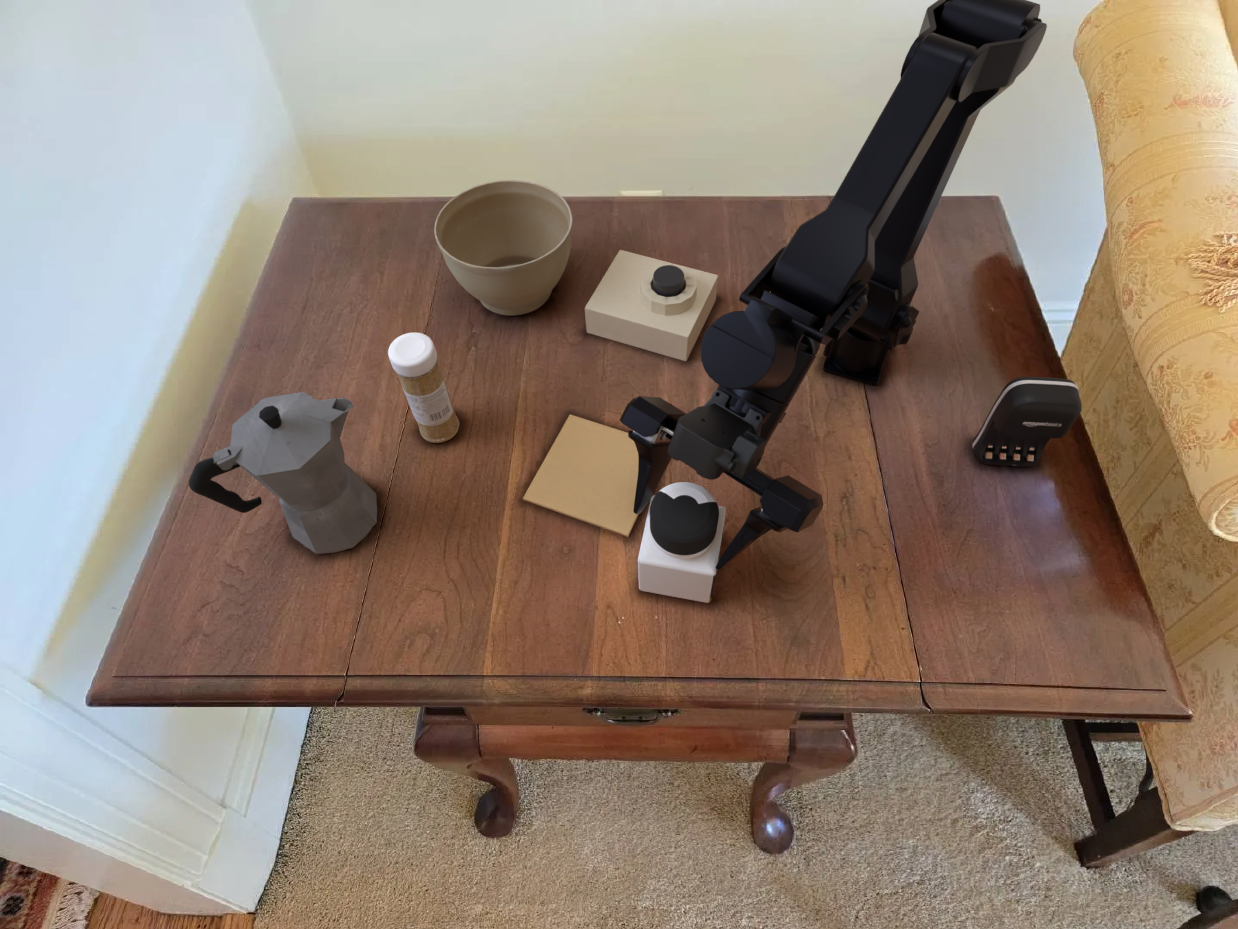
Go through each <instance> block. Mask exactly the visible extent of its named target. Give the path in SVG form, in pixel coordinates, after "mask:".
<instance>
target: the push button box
mask: <svg viewBox="0 0 1238 929" xmlns="http://www.w3.org/2000/svg"><path fill="white" fill-rule="evenodd" d="M665 265H672V266H676V267H678V268H680V269H681V270H682V271H683V273H684V288H683V291H682V292H681V293H680V294H679V295H677V296H673V297H664V296H660V295H658V294H657V293H656V292H655V291H654V289H653V274H654V272H655V270H656V269H658V268H659V267H661V266H665ZM718 282H719V274H715V273H711V272H707V271H703V270H700V269H696V268H692V267H689V266H685V265H680V264H677V263H673V262H669V261H665V260H663V259H662V260H661V259H658V258H653V257H650V256H646V255H642V254H639V253H634V252H631V251H628V250H627V251H626V250H623V249H619V250H618V252H617V254H616V255H615V257H614V259H613V260H612V262H611V264H610V266H609V267H608V269H607V270H606V272H605V274H604V275H603V277H602V279H601V280H600V282H599V283H598V284H597V287H596V289H595V290H594V292H593V294H592V295H591V297H590V298H589V300H588V301H587V303H586V305H585V307H584V316H585V317H584V318H585V329H586V333H587V334H589V335H590V334H591V335H594V336H597V337H600V338H604V339H607V340H611V341H614V342H618V343H622V344H625V345H627V346H632V347H636V348H639V349H643V350H645V351H649V352H652V353H656V354H658V355H663V356H666V357H670V358H673V359H676V360H678V361H679V360H680V361H683V362H687V361H688V359H689V357H690V355H691V352H692V351H693V349H694V347H695V345H696V342H697V340H698V338H699V336H700V334H701V332H702V330H703V328H704V325H705V324H706V321H707V320H708V318H709V315H710V313H711V311H712V309H713V307H714V305H715V303H716V300H717V292H718Z"/></svg>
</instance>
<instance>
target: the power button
mask: <svg viewBox="0 0 1238 929" xmlns="http://www.w3.org/2000/svg"><path fill="white" fill-rule="evenodd" d="M683 288H684V273H683V271H682V270H681V269H680V268H678V267H676V266H672V265H665V266H661V267H659V268H658V269H656V270H655V272H654V274H653V289H654V291H655V292H656V293H657V294H658V295H660V296H664V297H673V296H677V295H679V294H680V293H681V292H682V291H683Z"/></svg>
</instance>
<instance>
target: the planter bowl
mask: <svg viewBox="0 0 1238 929" xmlns="http://www.w3.org/2000/svg"><path fill="white" fill-rule="evenodd" d="M573 218H574V217H573V213H572V210H571V207H570V205H569V203H568V202H567V201H566V199H565V198H564V197H563V196H562V195H560V194H559V193H558V192H557V191H556V190H554V189H552V188H551V187H548V186H546V185H543V184H540V183H536V182H532V181H527V180H517V179H502V180H501V179H500V180H494V181H488V182H484V183H481V184H477V185H474V186H472V187H470V188H468V189H466V190H463V191H461V192H459V193H458V194H457V195H455V196H453V197H452V198H451V199H450V200H449V201H448V202H446V203H445V204H444V205H443V207H442V208H441V210H439V212H438V214H437V216H436V218H435V222H434V227H433V230H434V237H435V240H436V244H437V246H438V248H439V250H440V252H441V253H442V256H443V259H444V261H445V264H446V266H447V268H448V270H449V271H450V273H451V274H452V276H453V277H454V278H455V280H456V281H457V283H458V284H459V285H460V286H461V287H462V288H463V289H464V290H465V291H466V292H467V293H469V295H471V296H472V297H474V298H475V299H477V300H478V301H479V302H480V303H481V304H482V305H483V307H484V308H486V309H487V310H489V311H490V312H492V313H494V314H497V315H502V316H508V317H509V316H510V317H511V316H512V317H513V316H521V315H525V314H529V313H532V312H534V311H536V310H538V309H540V308H541V307H542V306H543V305H544V304H546V302H547V301H548V300H549V299H550V297H551V294H552V291H553V289H554V288H555V287H556V285H557V284H558V283H559V281H560V280H561V278H562V277H563V274H564V272H565V270H566V267H567V265H568V262H569V258H570V254H571V247H572V232H573V226H574V224H573V223H574V222H573Z"/></svg>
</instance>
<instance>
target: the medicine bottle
mask: <svg viewBox="0 0 1238 929" xmlns="http://www.w3.org/2000/svg"><path fill="white" fill-rule="evenodd" d="M726 514H727V509H726V507H725V506H723V505H719V504H718V502H717V500H716V498H715V496H713V494H712V493H711V492H710V491H709V490H708V489H707V488H706V487H703V486H702V485H700V484H697V483H694V482H689V481H678V482H673V483H670V484H668V485H665V486H664V487H662V488H661V489H660V490H659V491H658V492H656V494H653V495H652V497H651V499H650V501H649V505H648V510H647V515H646V519H645V524H644V527H643V528H644V529H643V533H642V538H641V543H640V548H639V552H638V557H637V577H638V589H639V591H641V592H645V593H646V592H647V593H651V594H657V595H662V596H667V597H673V598H679V599H684V600H689V601H695V602H701V603H704V604H705V603H706V604H709V603H710V602H712V598H713V593H714V588H715V583H716V582H715V581H716V576H717V571H718V570H717V569H716V568H715V567H716V565H717V563H718V561H719V559H720V551H721V545H722V539H723V533H724V532H723V531H724V526H725V519H726Z"/></svg>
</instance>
